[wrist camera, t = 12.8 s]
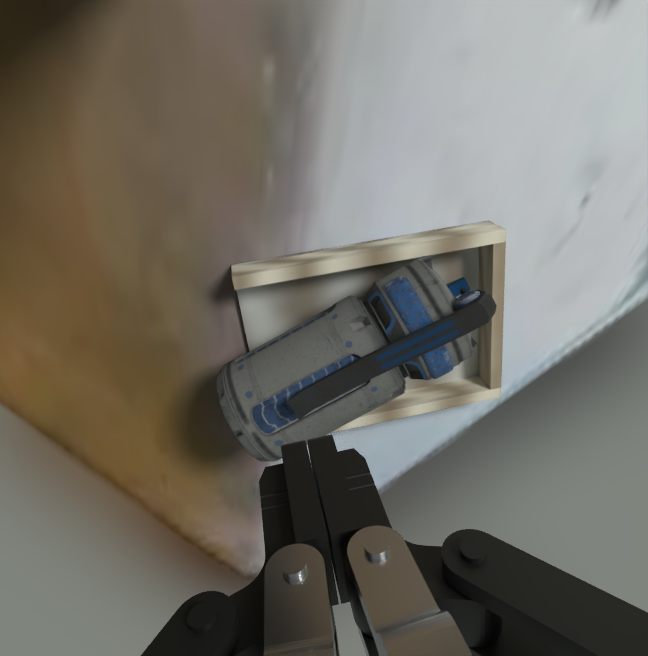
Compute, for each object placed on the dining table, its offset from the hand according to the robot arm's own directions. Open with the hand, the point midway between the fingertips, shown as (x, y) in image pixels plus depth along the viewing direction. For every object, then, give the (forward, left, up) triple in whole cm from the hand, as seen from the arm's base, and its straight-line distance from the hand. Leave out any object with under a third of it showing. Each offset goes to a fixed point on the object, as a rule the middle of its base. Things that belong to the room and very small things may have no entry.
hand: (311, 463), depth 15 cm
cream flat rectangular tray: (+17, -1, -35) cm, 39 cm away
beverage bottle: (+10, -15, -29) cm, 34 cm away
